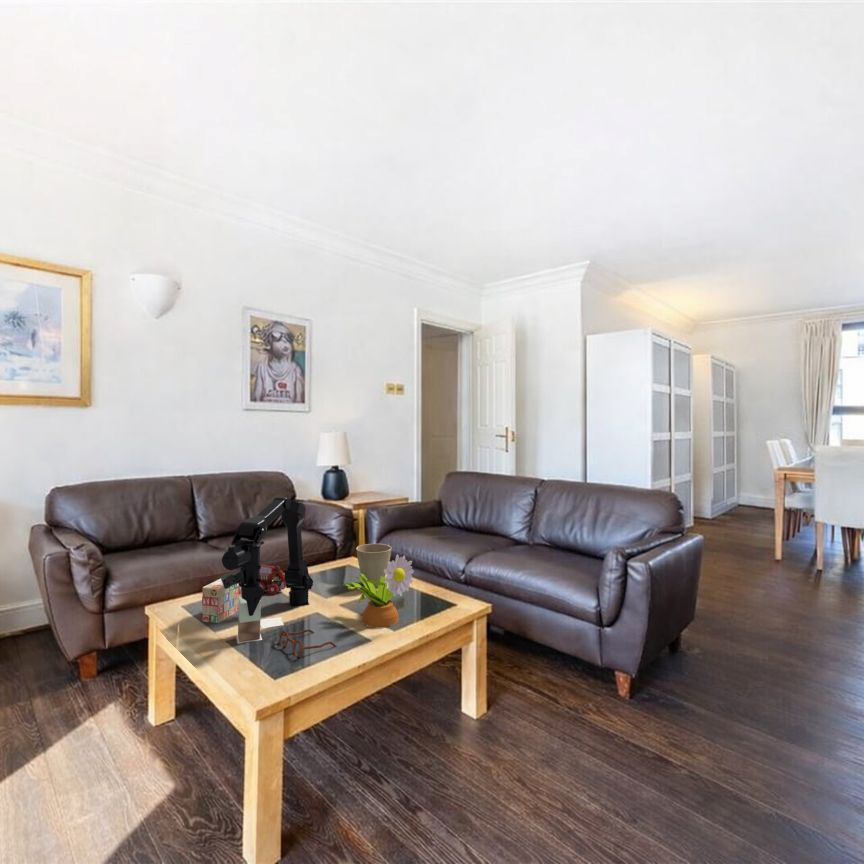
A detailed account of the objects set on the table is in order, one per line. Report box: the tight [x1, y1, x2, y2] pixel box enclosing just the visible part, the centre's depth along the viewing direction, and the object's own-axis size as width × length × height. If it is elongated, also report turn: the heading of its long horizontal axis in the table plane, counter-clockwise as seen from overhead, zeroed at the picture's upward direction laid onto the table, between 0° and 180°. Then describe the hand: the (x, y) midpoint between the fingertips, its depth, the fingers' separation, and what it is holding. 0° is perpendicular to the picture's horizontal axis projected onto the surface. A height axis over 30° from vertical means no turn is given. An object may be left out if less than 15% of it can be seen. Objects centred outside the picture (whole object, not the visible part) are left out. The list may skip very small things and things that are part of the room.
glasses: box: [278, 628, 337, 658], centre depth 152 cm, size 13×13×5 cm
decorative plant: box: [342, 554, 415, 628], centre depth 174 cm, size 27×24×25 cm
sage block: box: [237, 597, 262, 623], centre depth 156 cm, size 6×6×6 cm
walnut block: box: [237, 616, 261, 643], centre depth 156 cm, size 6×6×6 cm
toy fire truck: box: [258, 564, 287, 595], centre depth 199 cm, size 7×12×10 cm, turn 82°
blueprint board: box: [235, 616, 285, 645], centre depth 160 cm, size 20×19×1 cm
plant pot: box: [355, 543, 392, 588], centre depth 210 cm, size 15×15×16 cm
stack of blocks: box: [201, 577, 242, 624], centre depth 176 cm, size 21×6×12 cm, turn 168°
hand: (249, 610), depth 156 cm, fingers open, 9 cm apart
